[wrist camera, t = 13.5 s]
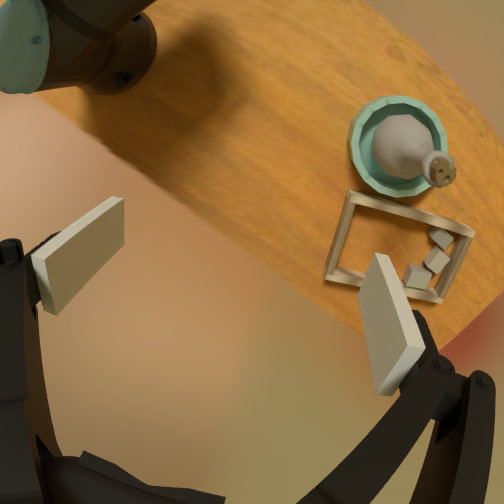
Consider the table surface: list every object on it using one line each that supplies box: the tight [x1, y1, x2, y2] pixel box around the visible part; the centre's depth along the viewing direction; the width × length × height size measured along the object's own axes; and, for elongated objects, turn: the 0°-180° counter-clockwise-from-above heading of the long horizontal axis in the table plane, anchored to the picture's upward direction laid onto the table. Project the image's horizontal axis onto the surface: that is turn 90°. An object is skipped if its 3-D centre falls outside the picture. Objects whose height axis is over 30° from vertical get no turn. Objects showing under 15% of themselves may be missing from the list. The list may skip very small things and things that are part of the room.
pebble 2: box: [423, 245, 450, 274], centre depth 47 cm, size 4×3×2 cm
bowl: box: [347, 95, 448, 198], centre depth 39 cm, size 14×14×4 cm
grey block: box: [402, 263, 432, 290], centre depth 49 cm, size 4×3×2 cm
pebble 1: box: [427, 225, 454, 250], centre depth 45 cm, size 4×2×2 cm
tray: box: [324, 189, 475, 304], centre depth 47 cm, size 22×14×3 cm, turn 80°
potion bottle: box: [372, 114, 456, 188], centre depth 32 cm, size 9×9×18 cm
